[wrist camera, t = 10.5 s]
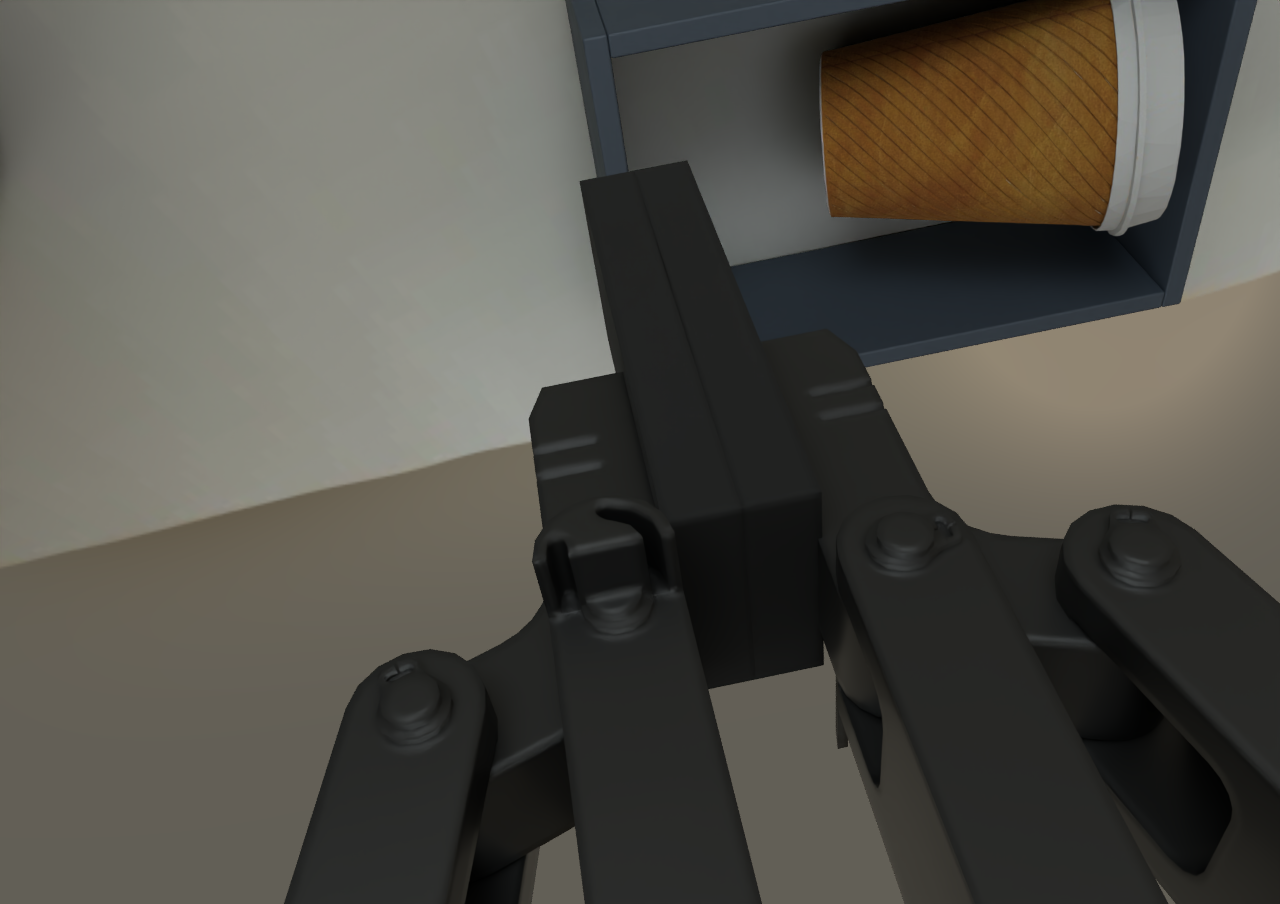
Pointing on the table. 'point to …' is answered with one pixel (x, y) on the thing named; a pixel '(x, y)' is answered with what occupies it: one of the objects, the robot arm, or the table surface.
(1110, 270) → the bin
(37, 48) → the table surface
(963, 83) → the disposable coffee cup
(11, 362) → the table surface
